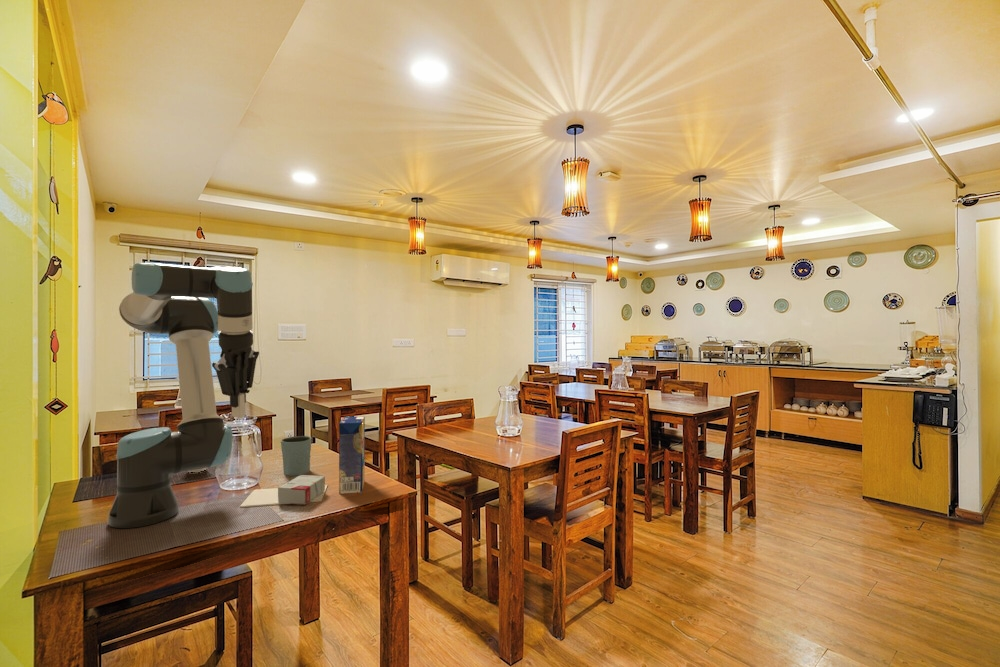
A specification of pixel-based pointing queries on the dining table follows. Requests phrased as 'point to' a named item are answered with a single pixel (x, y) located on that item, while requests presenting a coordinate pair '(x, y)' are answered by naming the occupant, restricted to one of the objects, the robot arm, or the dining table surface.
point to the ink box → (301, 489)
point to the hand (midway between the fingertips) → (238, 416)
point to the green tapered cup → (296, 455)
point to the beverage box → (351, 454)
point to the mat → (269, 497)
